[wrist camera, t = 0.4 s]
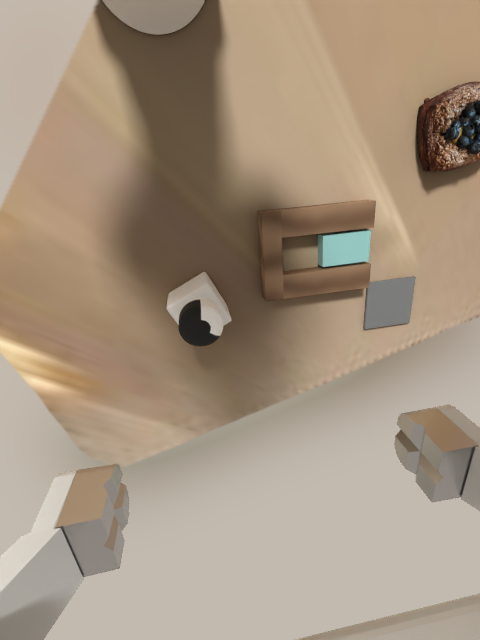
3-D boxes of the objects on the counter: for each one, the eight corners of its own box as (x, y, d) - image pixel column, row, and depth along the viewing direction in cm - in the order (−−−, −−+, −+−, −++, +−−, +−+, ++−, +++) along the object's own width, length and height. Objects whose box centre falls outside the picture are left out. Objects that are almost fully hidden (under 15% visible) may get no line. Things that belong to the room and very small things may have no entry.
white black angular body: (191, 326, 56) (193, 361, 45) (167, 293, 53) (163, 321, 42) (227, 305, 56) (237, 335, 45) (204, 270, 53) (209, 293, 42)
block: (317, 233, 54) (323, 236, 51) (363, 228, 54) (370, 230, 52) (317, 263, 56) (322, 267, 53) (361, 257, 56) (368, 261, 54)
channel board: (257, 211, 50) (261, 212, 48) (367, 199, 52) (375, 200, 50) (262, 296, 56) (266, 301, 54) (361, 283, 58) (368, 287, 56)
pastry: (410, 103, 48) (438, 93, 43) (485, 75, 48) (523, 61, 43) (416, 180, 53) (443, 180, 47) (485, 154, 53) (519, 151, 47)
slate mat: (366, 282, 58) (368, 283, 57) (413, 276, 59) (415, 277, 58) (363, 328, 62) (364, 329, 61) (407, 321, 63) (409, 322, 62)
